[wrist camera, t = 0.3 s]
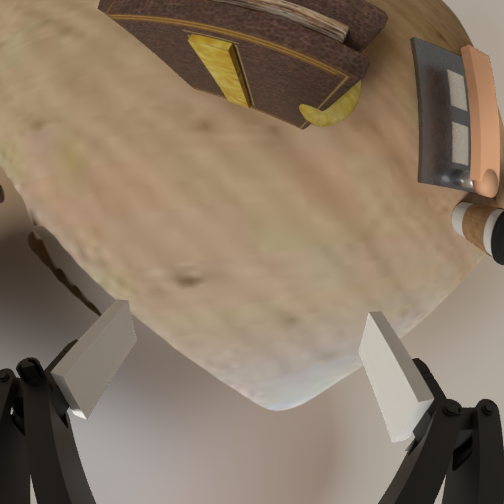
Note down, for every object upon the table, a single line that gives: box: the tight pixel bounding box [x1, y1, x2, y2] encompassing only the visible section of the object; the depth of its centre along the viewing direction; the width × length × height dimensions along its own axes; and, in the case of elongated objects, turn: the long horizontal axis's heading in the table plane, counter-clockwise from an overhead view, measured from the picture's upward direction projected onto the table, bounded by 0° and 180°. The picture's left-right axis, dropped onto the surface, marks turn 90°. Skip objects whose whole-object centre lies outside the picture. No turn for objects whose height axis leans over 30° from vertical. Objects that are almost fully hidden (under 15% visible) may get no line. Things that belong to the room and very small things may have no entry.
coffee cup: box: [452, 202, 504, 265], centre depth 30 cm, size 8×8×15 cm
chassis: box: [410, 37, 476, 193], centre depth 29 cm, size 26×14×7 cm, turn 179°
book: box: [98, 0, 388, 129], centre depth 22 cm, size 22×8×25 cm, turn 67°
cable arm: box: [460, 44, 500, 198], centre depth 24 cm, size 24×5×3 cm, turn 179°
